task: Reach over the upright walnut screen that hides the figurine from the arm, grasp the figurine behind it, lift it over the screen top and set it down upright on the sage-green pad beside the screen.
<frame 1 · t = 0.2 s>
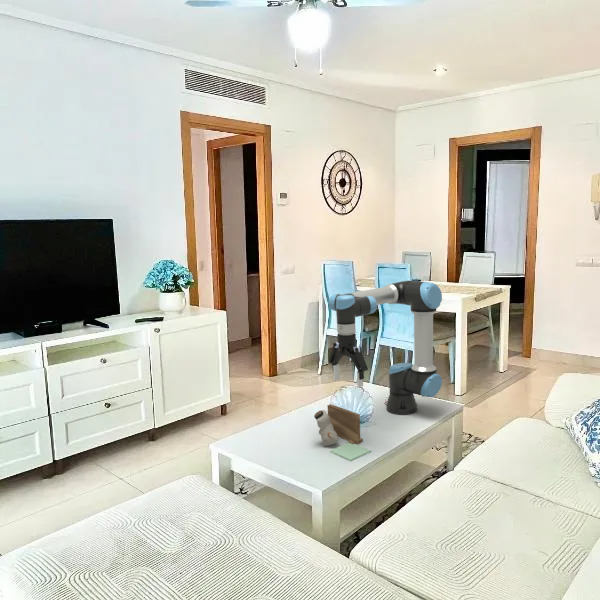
hand: (348, 383, 223), 28 cm above the table, fingers open, 13 cm apart
figurine: (327, 445, 231), on the table
screen: (344, 437, 237), on the table
pad: (350, 451, 223), on the table
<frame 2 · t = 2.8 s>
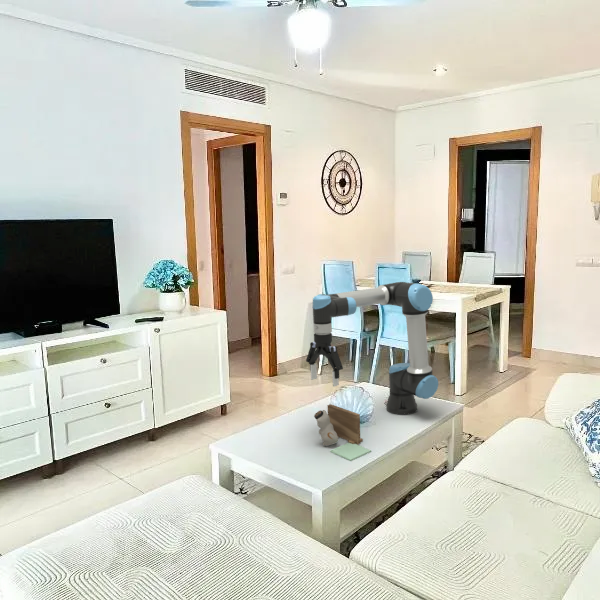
hand: (324, 382, 227), 28 cm above the table, fingers open, 13 cm apart
nothing on the table moved.
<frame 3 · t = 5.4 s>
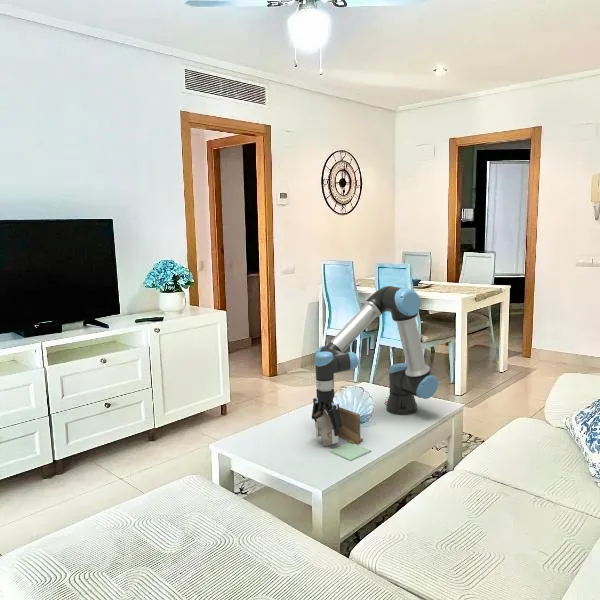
hand: (327, 439, 231), 3 cm above the table, fingers closed on figurine, 9 cm apart
figurine: (327, 445, 231), on the table, touching gripper
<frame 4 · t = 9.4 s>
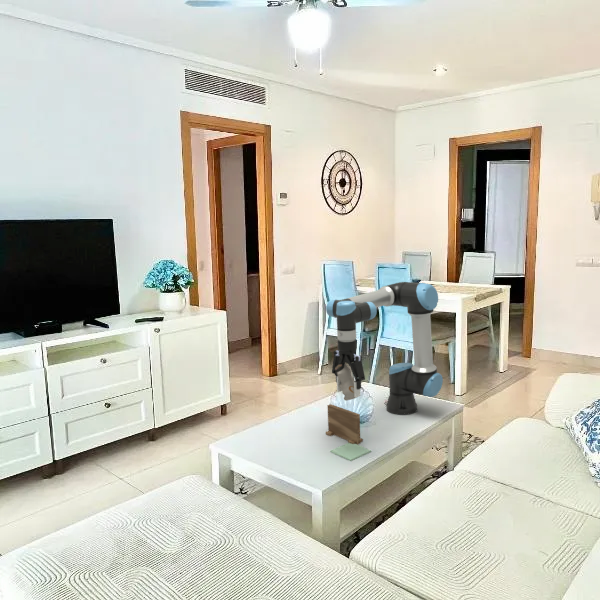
hand: (348, 393, 219), 25 cm above the table, fingers closed on figurine, 9 cm apart
figurine: (348, 400, 220), point 22 cm above the table, touching gripper
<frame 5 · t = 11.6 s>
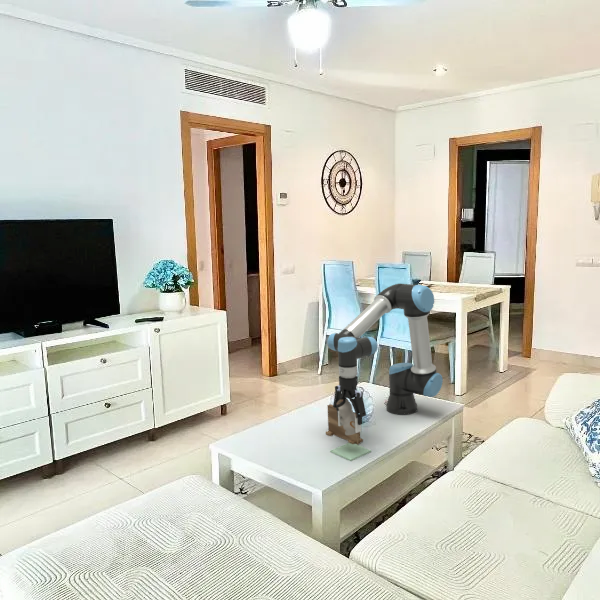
hand: (349, 428, 221), 10 cm above the table, fingers closed on figurine, 9 cm apart
figurine: (349, 434, 222), point 7 cm above the table, touching gripper
when the fingers open (4 cm above the table, at t = 13.5 s): figurine drops 1 cm, resting on pad.
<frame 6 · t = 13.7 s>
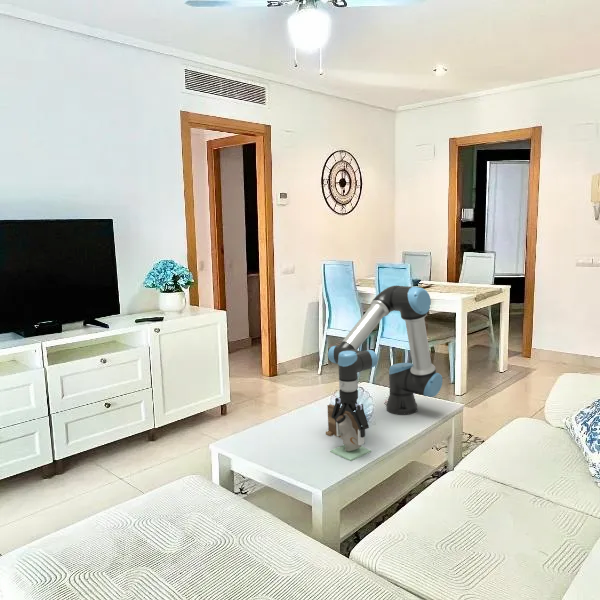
hand: (350, 439, 222), 5 cm above the table, fingers open, 12 cm apart
figurine: (349, 450, 224), resting on pad
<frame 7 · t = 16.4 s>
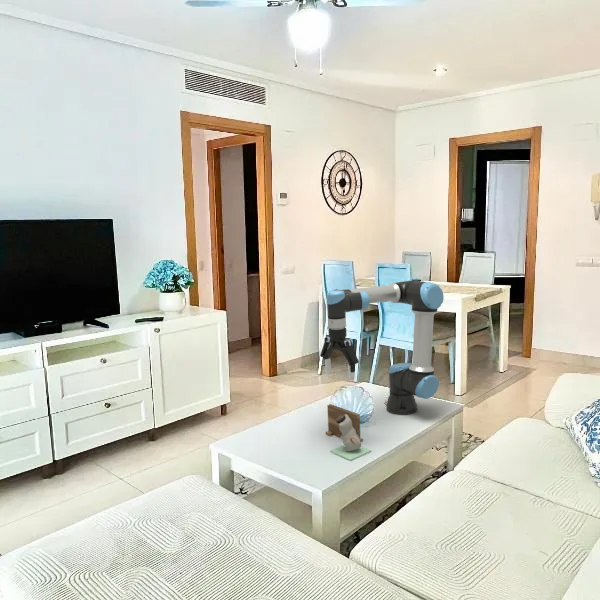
hand: (339, 376, 230), 29 cm above the table, fingers open, 13 cm apart
nothing on the table moved.
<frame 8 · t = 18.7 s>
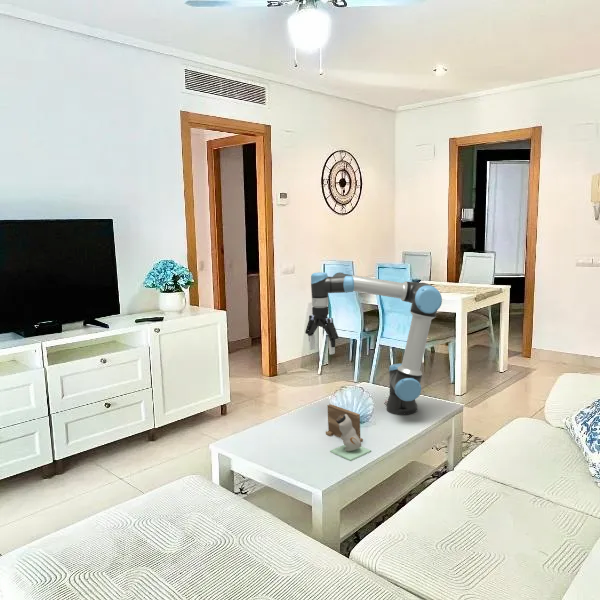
hand: (322, 351, 250), 35 cm above the table, fingers open, 13 cm apart
nothing on the table moved.
at the end: figurine inside the target area on the pad (0.6 cm from its centre), point 0.4 cm above the pad's base; figurine tilted 0°; the gripper is holding nothing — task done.
